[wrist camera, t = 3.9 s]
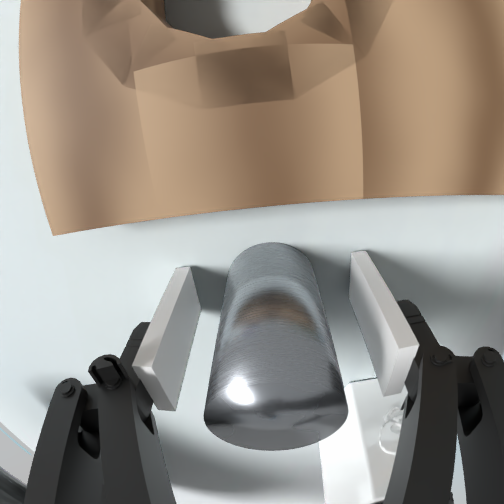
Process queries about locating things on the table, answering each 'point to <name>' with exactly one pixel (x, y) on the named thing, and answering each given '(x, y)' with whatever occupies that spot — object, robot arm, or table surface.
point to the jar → (363, 446)
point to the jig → (258, 107)
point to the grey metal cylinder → (274, 356)
